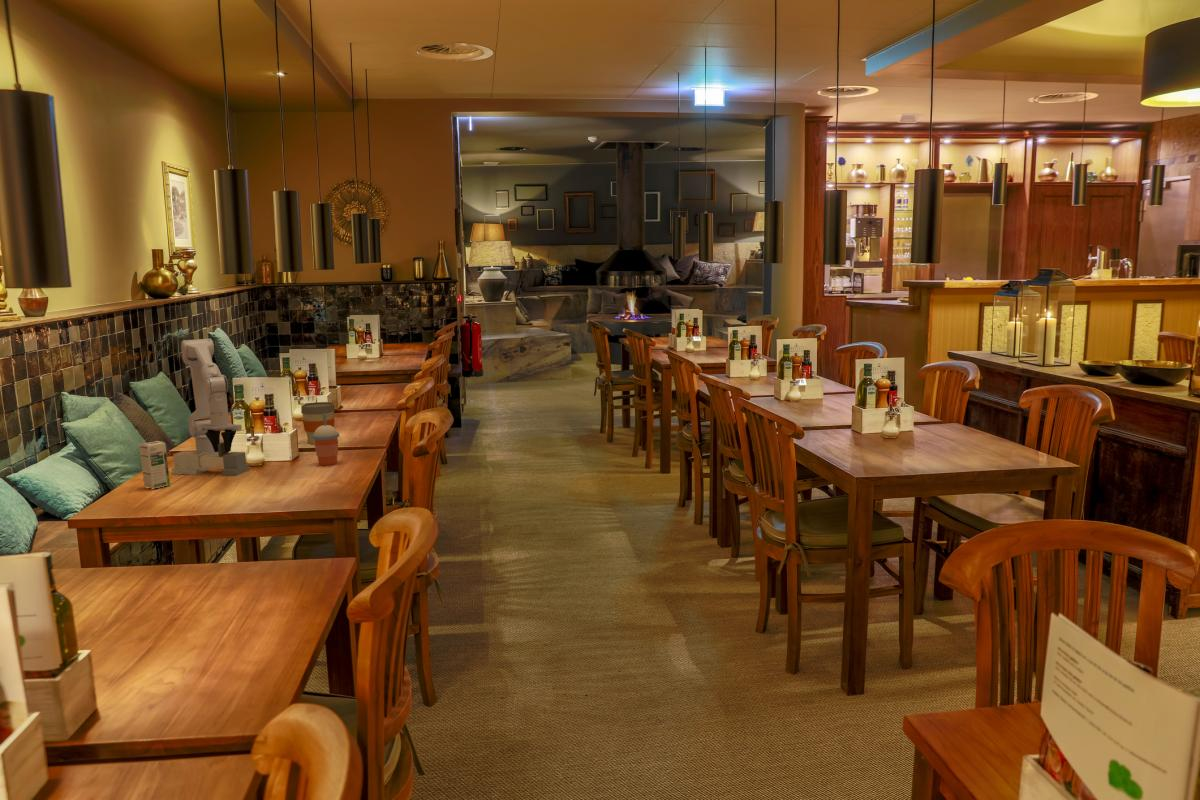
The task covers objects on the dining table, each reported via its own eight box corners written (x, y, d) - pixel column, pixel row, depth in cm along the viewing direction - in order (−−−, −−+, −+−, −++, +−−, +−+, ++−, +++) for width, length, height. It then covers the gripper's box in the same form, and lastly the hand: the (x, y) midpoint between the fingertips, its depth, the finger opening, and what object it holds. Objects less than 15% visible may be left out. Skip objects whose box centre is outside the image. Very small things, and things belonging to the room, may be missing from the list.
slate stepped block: (222, 475, 295) (220, 456, 293) (235, 469, 302) (234, 450, 301) (235, 475, 294) (233, 456, 293) (249, 469, 301) (247, 451, 300)
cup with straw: (336, 466, 303) (332, 415, 301) (310, 466, 304) (306, 415, 301) (344, 460, 312) (341, 410, 310) (319, 460, 313) (315, 411, 310)
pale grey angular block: (196, 466, 298) (194, 443, 297) (203, 464, 302) (200, 441, 300) (234, 467, 296) (232, 444, 294) (240, 464, 299) (238, 442, 298)
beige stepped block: (172, 474, 298) (170, 455, 297) (187, 468, 306) (185, 450, 304) (196, 474, 296) (194, 455, 295) (210, 469, 304) (209, 450, 303)
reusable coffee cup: (304, 440, 350) (301, 403, 347) (336, 437, 353) (334, 401, 351) (303, 446, 338) (300, 408, 336) (337, 443, 342) (334, 405, 339)
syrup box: (152, 490, 277) (147, 445, 275) (143, 487, 281) (138, 443, 278) (170, 486, 282) (165, 442, 279) (161, 483, 285) (156, 440, 283)
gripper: (191, 414, 293) (195, 453, 295) (231, 414, 290) (235, 454, 292) (204, 410, 300) (208, 449, 302) (243, 410, 297) (247, 450, 299)
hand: (222, 451), depth 298 cm, fingers open, 3 cm apart
